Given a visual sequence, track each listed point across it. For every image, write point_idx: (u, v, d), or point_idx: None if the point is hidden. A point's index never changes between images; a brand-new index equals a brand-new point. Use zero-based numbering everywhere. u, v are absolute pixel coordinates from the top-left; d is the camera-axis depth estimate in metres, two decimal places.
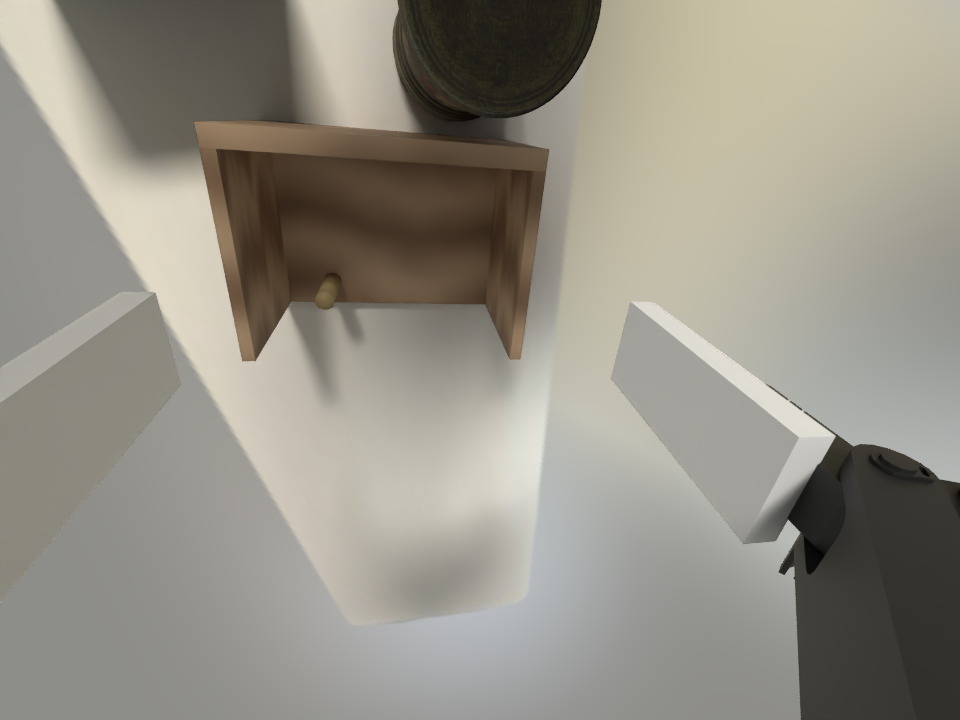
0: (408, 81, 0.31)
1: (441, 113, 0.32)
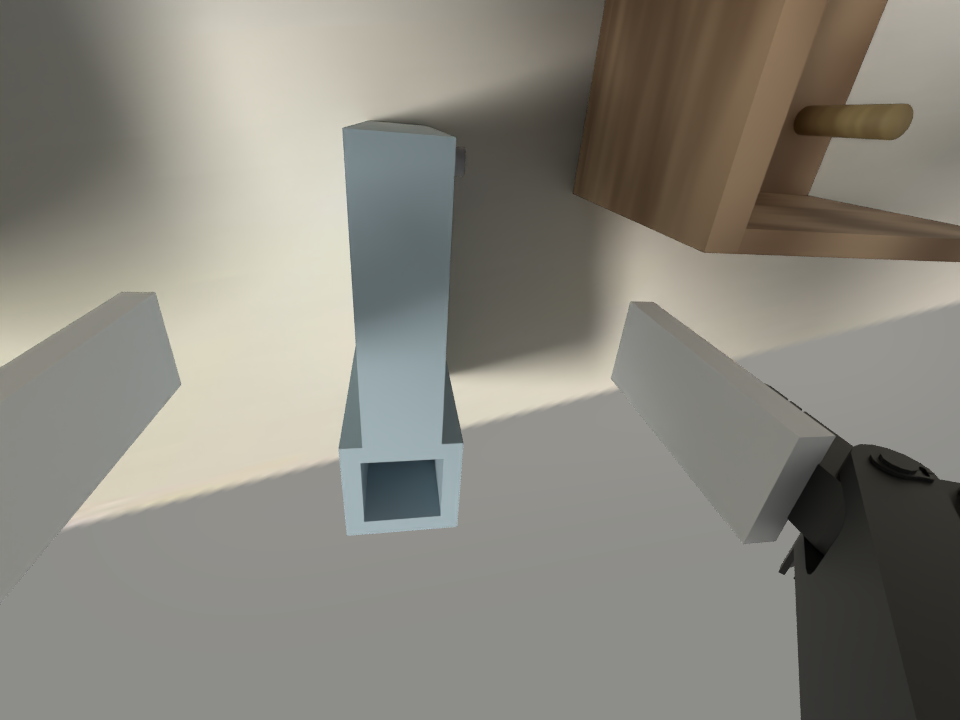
0: None
1: None
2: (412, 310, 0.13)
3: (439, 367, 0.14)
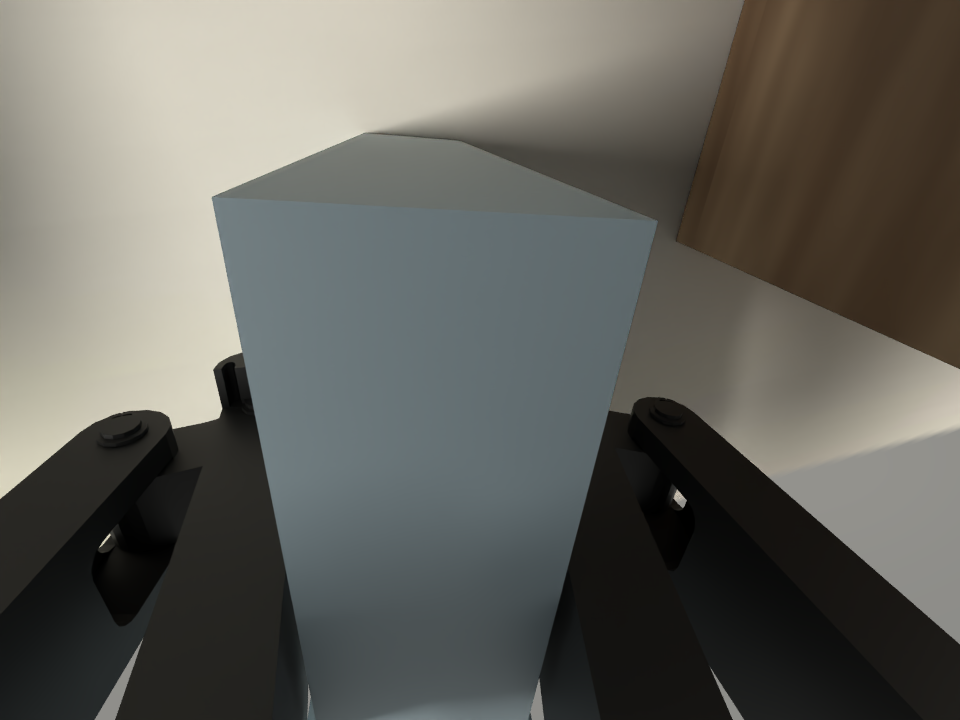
0: None
1: None
2: (461, 642, 0.05)
3: (514, 718, 0.06)
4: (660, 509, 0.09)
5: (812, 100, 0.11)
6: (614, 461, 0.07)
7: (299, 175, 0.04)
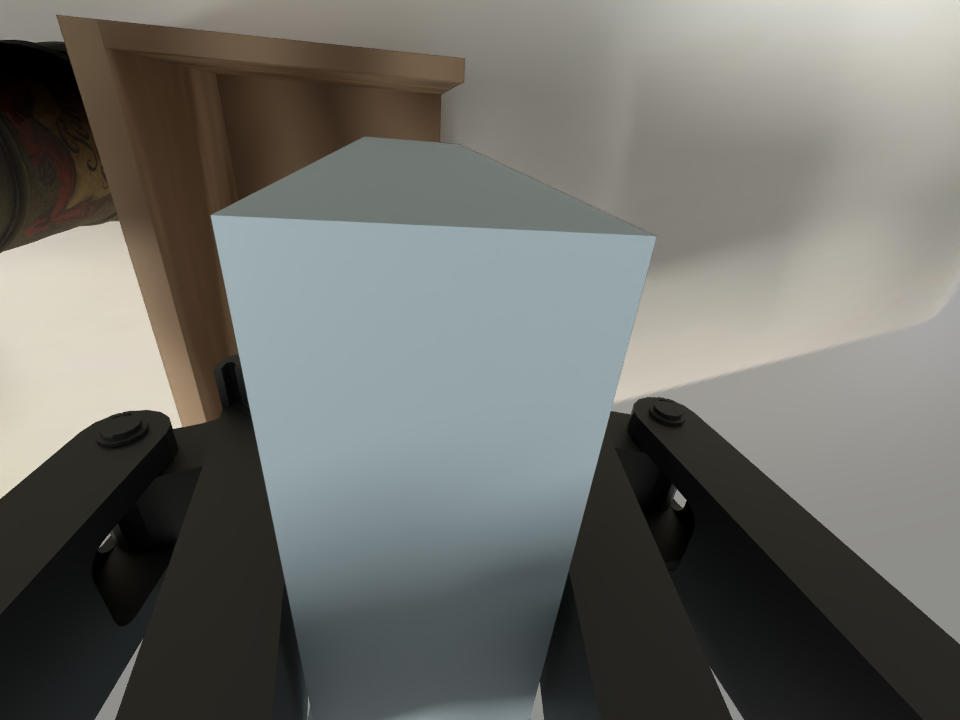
0: None
1: None
2: (460, 651, 0.05)
3: None
4: (660, 509, 0.09)
5: None
6: (614, 461, 0.07)
7: (298, 188, 0.04)
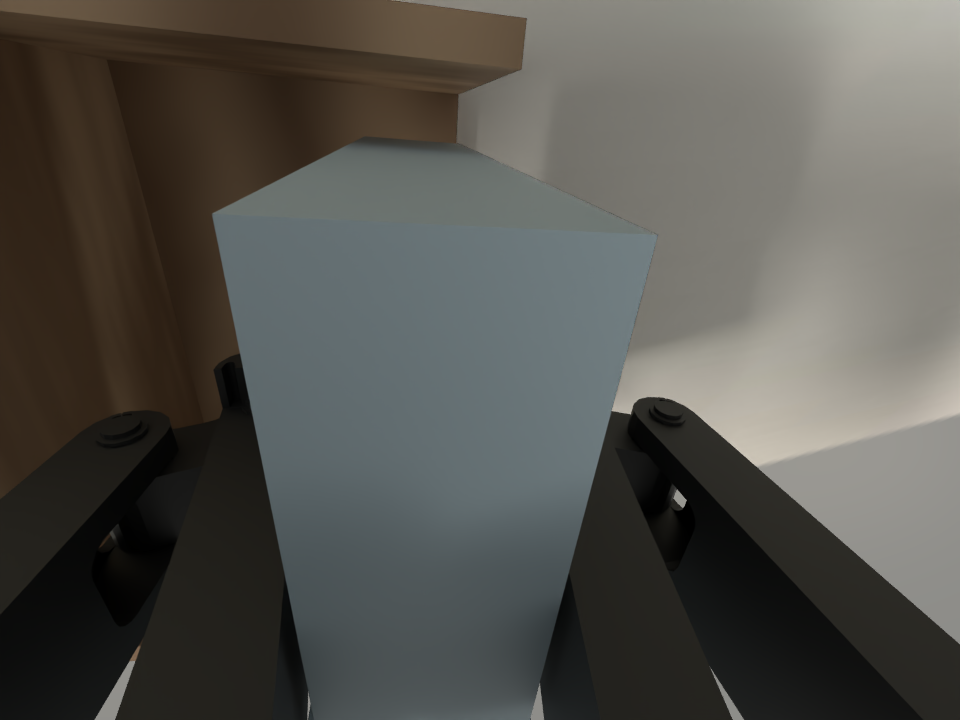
0: None
1: None
2: (461, 651, 0.05)
3: None
4: (660, 509, 0.09)
5: None
6: (614, 461, 0.07)
7: (299, 187, 0.04)
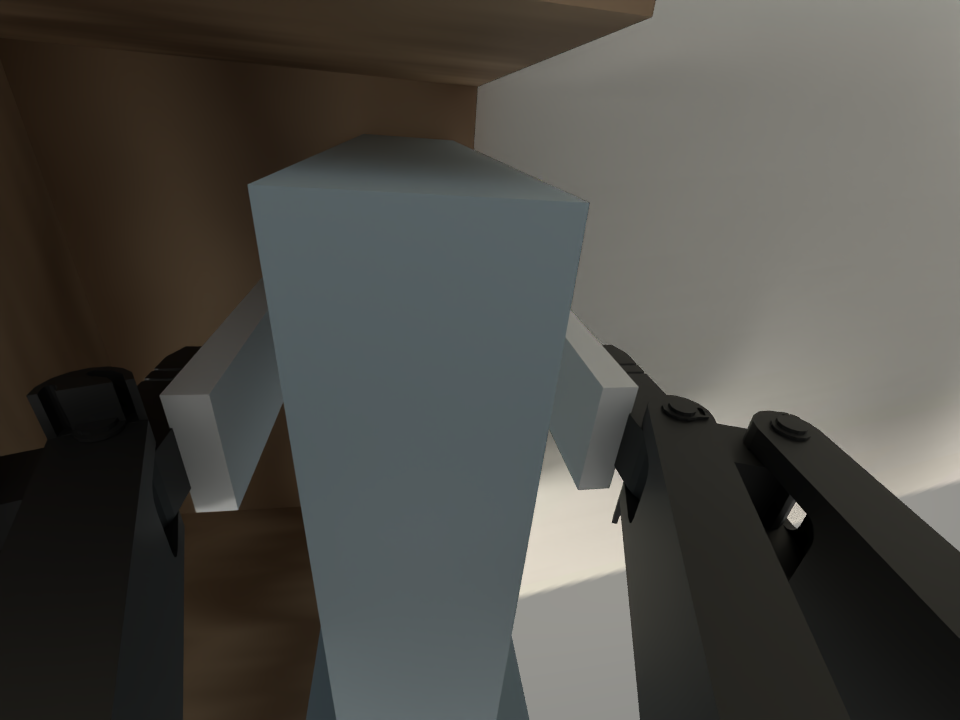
0: None
1: None
2: (447, 569, 0.06)
3: (497, 647, 0.07)
4: (772, 525, 0.08)
5: None
6: (736, 481, 0.07)
7: (309, 170, 0.04)
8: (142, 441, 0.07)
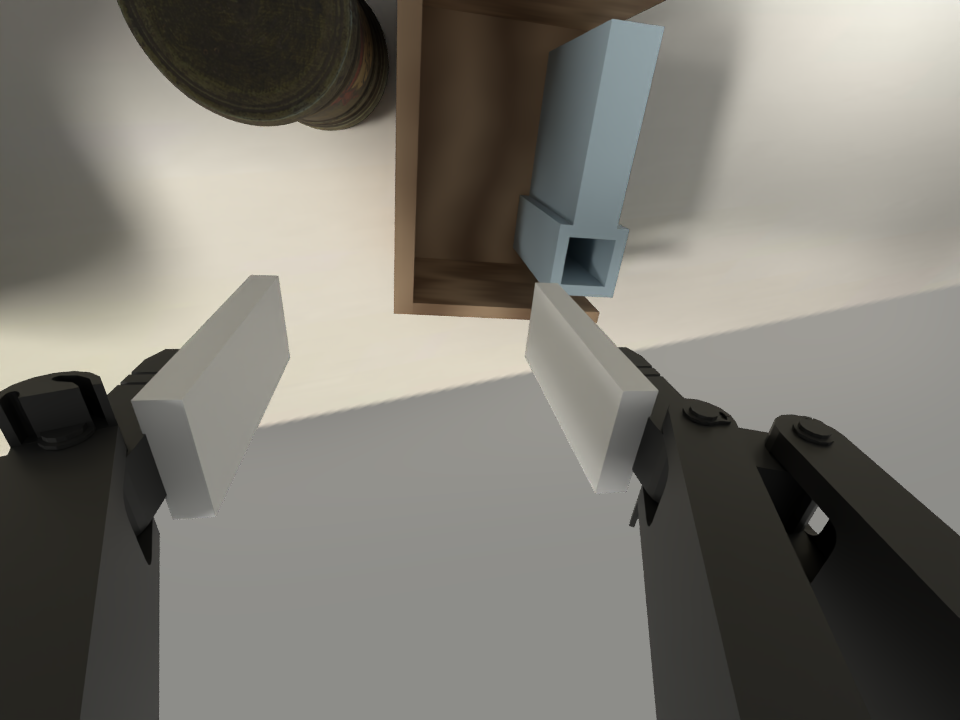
0: (354, 116, 0.31)
1: (380, 81, 0.31)
2: (621, 130, 0.24)
3: (627, 171, 0.25)
4: (792, 530, 0.08)
5: None
6: (759, 486, 0.07)
7: None
8: (111, 447, 0.06)
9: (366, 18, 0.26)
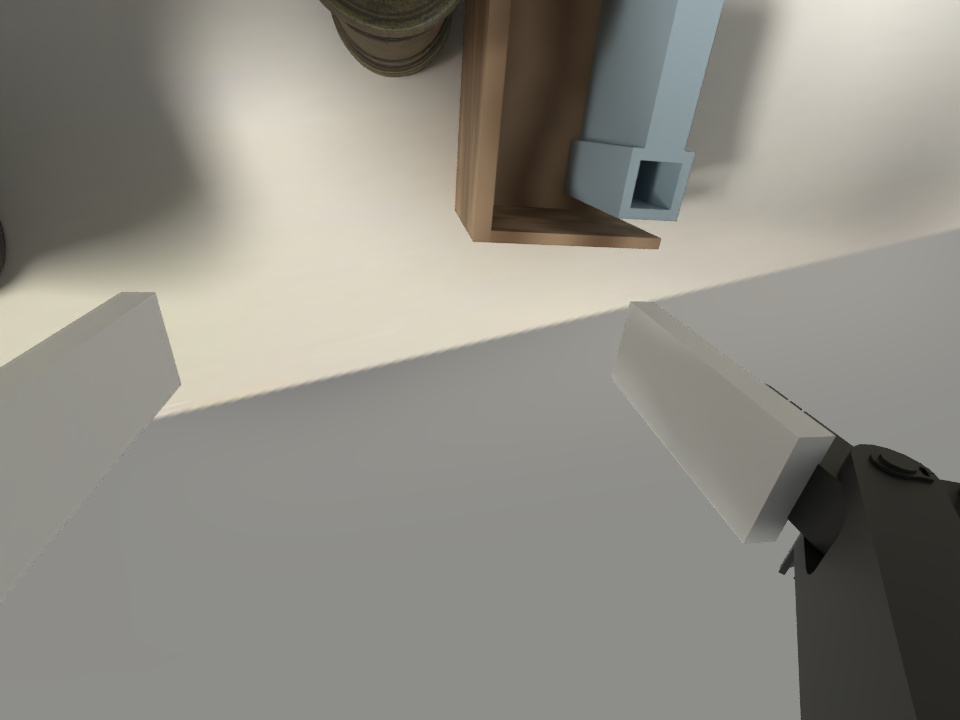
0: (422, 60, 0.33)
1: (447, 24, 0.32)
2: (693, 53, 0.26)
3: (696, 94, 0.27)
4: None
5: (462, 163, 0.35)
6: None
7: None
8: None
9: None
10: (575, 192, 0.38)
